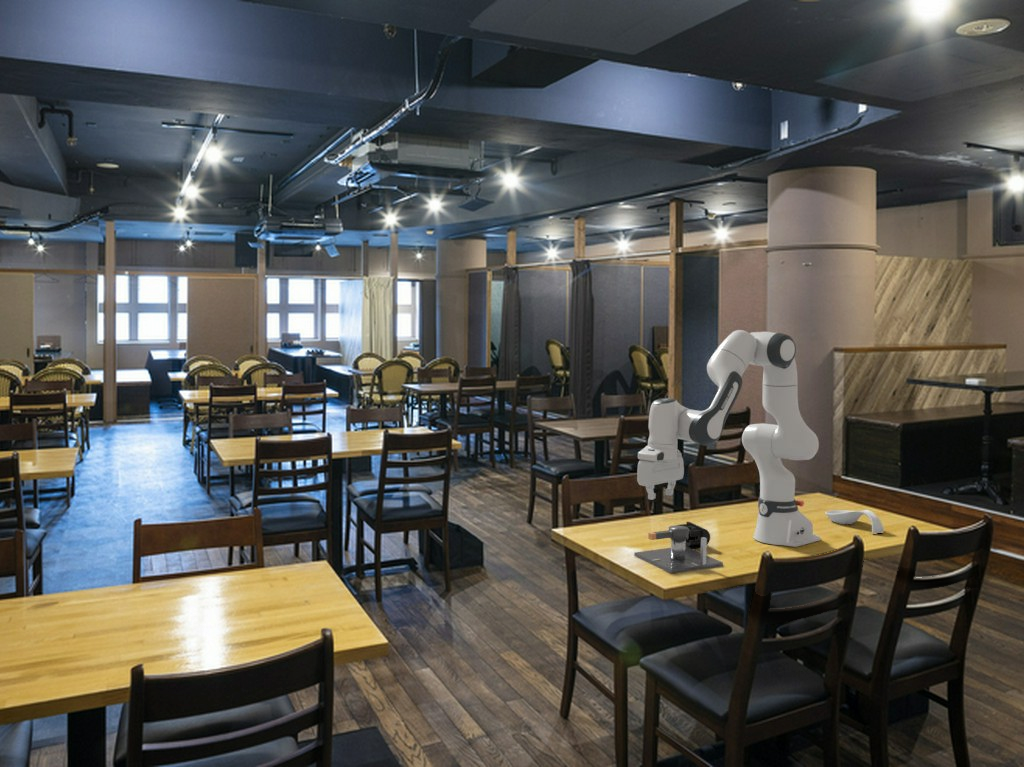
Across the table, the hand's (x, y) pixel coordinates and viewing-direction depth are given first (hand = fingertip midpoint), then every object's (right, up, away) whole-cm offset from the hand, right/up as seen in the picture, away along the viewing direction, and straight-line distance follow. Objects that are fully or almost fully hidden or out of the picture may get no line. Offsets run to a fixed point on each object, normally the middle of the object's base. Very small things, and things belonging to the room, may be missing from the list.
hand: (660, 497), depth 243 cm
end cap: (+14, -19, +20) cm, 31 cm away
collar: (+3, -13, +1) cm, 13 cm away
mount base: (+6, -20, +3) cm, 21 cm away
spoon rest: (+79, -18, +47) cm, 94 cm away
